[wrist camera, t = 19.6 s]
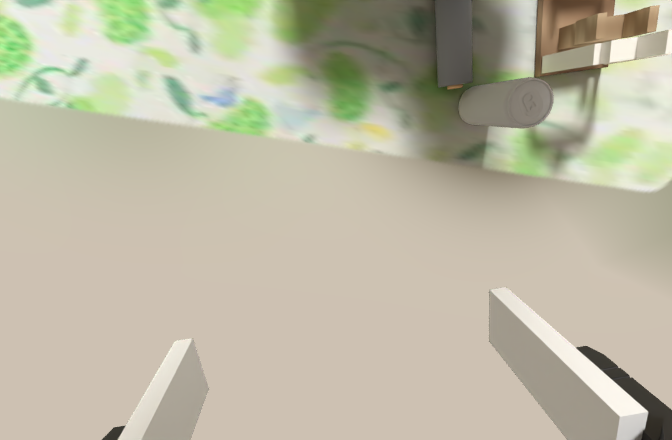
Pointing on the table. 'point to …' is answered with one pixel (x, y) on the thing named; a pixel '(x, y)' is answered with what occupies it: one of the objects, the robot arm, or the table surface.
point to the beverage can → (507, 103)
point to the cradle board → (585, 27)
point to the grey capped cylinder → (454, 42)
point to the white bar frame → (610, 52)
